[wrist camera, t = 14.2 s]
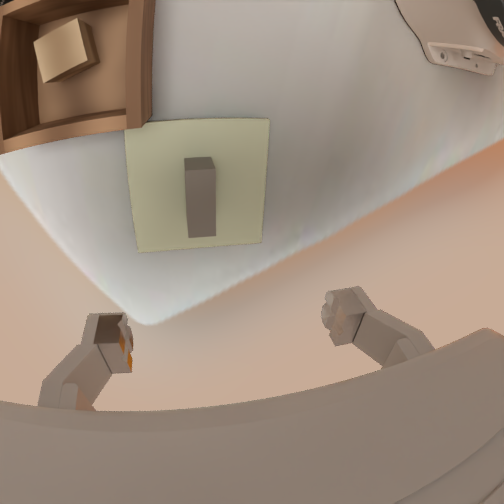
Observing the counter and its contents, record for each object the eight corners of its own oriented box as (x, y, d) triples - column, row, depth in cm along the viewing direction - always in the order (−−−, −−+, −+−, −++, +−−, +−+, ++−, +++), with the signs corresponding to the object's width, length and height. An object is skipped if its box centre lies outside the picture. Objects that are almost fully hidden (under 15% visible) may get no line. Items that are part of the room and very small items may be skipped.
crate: (155, -5, 17) (148, -35, 11) (152, 115, 24) (141, 127, 17) (35, 20, 15) (-6, 9, 8) (36, 134, 21) (-5, 155, 15)
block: (91, 25, 17) (77, 18, 13) (100, 62, 19) (87, 60, 16) (51, 45, 16) (33, 42, 13) (61, 81, 19) (43, 83, 15)
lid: (264, 117, 27) (284, 126, 22) (257, 234, 34) (271, 263, 29) (127, 122, 24) (114, 132, 19) (139, 244, 31) (134, 276, 26)
